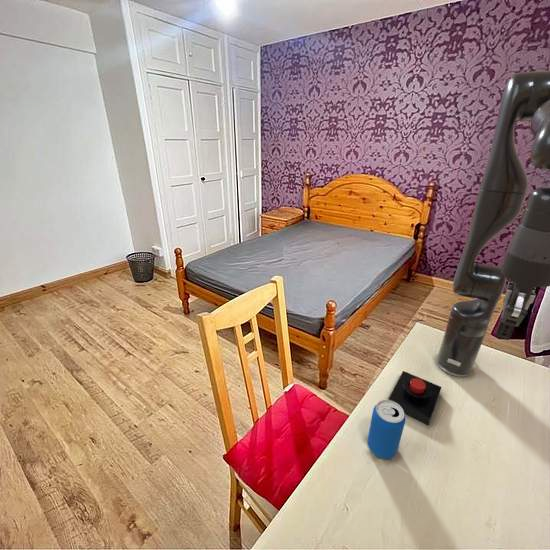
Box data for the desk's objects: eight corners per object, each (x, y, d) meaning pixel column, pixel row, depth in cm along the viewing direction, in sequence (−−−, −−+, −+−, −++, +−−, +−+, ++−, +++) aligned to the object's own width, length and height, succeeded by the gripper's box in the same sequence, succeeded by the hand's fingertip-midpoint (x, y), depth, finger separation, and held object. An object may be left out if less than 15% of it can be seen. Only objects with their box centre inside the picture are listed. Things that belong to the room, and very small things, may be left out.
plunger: (407, 389, 79) (408, 384, 78) (411, 381, 81) (412, 376, 80) (422, 396, 77) (423, 391, 76) (425, 387, 79) (427, 382, 78)
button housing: (387, 405, 79) (389, 393, 77) (401, 377, 88) (404, 365, 86) (428, 426, 74) (432, 413, 72) (439, 394, 82) (443, 381, 80)
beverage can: (398, 464, 66) (409, 426, 60) (367, 458, 67) (375, 421, 62) (394, 436, 71) (403, 400, 66) (366, 432, 73) (372, 395, 67)
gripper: (568, 272, 44) (525, 364, 52) (563, 245, 53) (527, 326, 61) (505, 260, 48) (474, 347, 56) (510, 237, 57) (483, 314, 65)
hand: (502, 336), depth 58 cm, fingers closed
